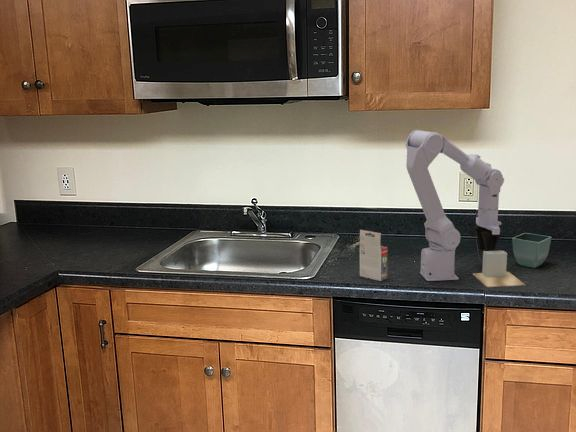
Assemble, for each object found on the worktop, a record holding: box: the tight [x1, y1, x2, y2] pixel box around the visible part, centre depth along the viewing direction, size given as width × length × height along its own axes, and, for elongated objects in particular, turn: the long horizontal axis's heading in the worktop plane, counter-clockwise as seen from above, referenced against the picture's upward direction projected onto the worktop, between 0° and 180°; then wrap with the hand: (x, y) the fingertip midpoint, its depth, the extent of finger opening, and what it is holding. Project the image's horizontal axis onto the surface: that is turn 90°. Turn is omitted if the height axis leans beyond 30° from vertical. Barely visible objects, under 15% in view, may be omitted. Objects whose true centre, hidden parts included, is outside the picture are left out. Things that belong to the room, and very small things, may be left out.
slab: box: [481, 250, 508, 277], centre depth 193 cm, size 6×3×7 cm, turn 94°
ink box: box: [359, 229, 388, 282], centre depth 194 cm, size 4×8×15 cm, turn 47°
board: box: [472, 271, 526, 288], centre depth 190 cm, size 11×12×1 cm
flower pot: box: [511, 232, 552, 269], centre depth 202 cm, size 9×9×9 cm
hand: (486, 252), depth 199 cm, fingers open, 5 cm apart
